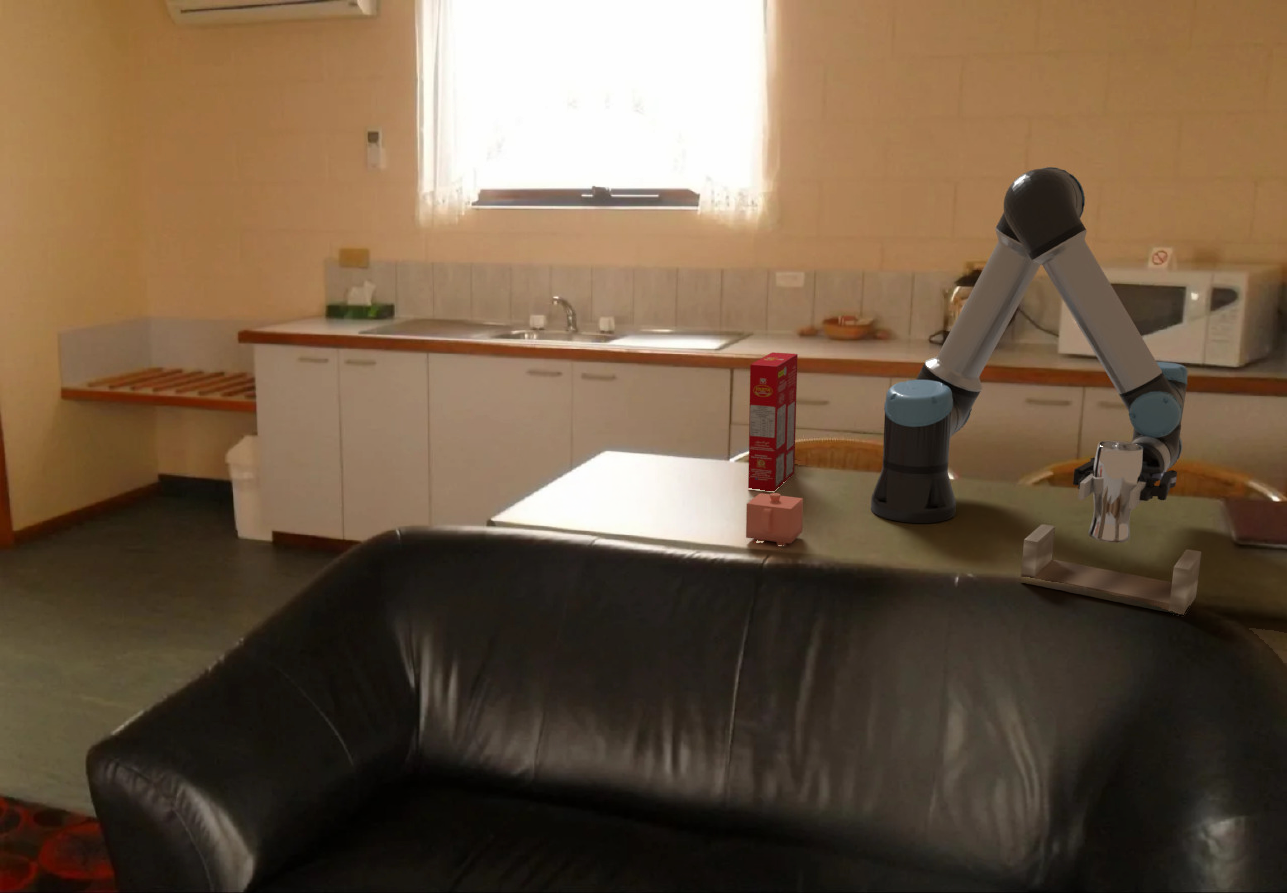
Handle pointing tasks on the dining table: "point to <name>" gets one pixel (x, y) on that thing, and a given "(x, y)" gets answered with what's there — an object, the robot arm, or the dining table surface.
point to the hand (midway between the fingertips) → (1106, 495)
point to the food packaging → (772, 420)
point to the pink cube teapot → (774, 518)
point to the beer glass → (1114, 489)
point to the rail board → (1112, 575)
